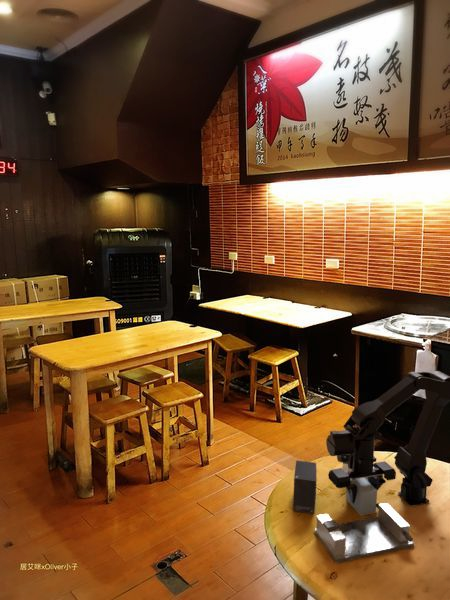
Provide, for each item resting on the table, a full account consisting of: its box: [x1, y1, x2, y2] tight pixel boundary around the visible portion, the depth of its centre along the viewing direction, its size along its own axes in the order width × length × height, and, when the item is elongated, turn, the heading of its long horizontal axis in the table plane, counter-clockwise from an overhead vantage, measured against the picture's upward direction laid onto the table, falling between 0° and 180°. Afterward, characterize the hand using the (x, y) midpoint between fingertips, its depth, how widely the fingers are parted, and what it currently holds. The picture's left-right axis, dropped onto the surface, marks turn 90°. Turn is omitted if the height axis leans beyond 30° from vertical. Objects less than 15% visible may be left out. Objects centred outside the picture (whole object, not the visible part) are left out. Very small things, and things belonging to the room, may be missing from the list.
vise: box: [314, 513, 415, 564], centre depth 124 cm, size 22×12×6 cm, turn 105°
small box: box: [292, 459, 318, 514], centre depth 140 cm, size 11×6×10 cm, turn 168°
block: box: [345, 478, 378, 516], centre depth 138 cm, size 5×8×7 cm, turn 15°
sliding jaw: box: [376, 502, 414, 542], centre depth 126 cm, size 2×15×4 cm, turn 15°
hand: (360, 501), depth 138 cm, fingers closed on block, 5 cm apart
